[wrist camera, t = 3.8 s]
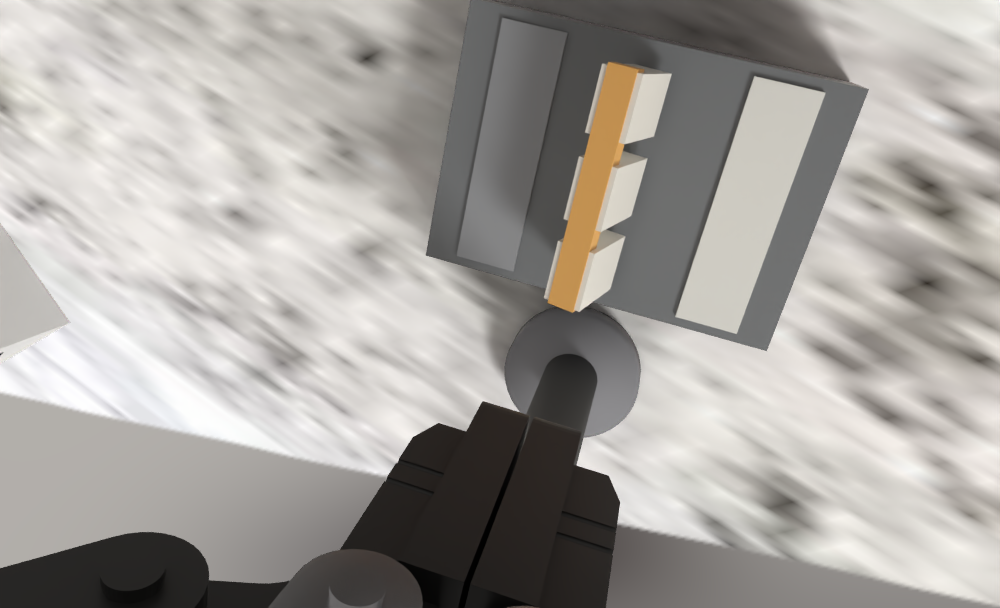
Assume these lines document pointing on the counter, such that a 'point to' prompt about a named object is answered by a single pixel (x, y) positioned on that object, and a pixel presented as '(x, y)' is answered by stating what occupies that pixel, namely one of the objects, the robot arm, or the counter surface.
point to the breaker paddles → (605, 183)
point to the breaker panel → (667, 175)
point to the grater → (23, 303)
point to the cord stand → (573, 371)
